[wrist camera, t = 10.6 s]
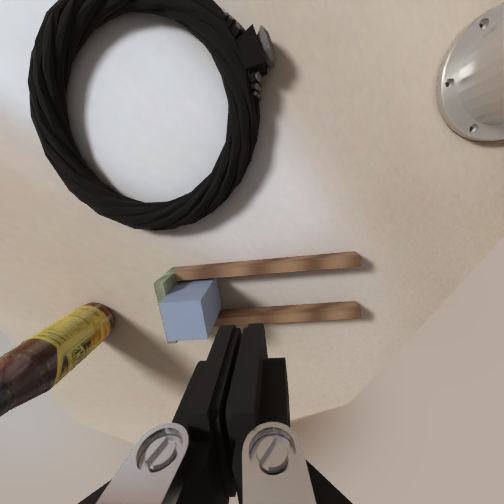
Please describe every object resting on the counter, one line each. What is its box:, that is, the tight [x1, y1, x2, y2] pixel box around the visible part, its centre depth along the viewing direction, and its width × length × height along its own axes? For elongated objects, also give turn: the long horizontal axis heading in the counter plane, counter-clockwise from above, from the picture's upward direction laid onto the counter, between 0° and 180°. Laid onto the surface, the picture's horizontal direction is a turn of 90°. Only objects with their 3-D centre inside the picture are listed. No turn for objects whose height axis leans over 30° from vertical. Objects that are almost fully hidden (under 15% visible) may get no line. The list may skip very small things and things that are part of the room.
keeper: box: [159, 278, 222, 341], centre depth 34 cm, size 5×5×8 cm
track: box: [154, 252, 361, 343], centre depth 33 cm, size 25×8×6 cm, turn 97°
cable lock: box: [28, 0, 276, 230], centre depth 30 cm, size 28×4×30 cm
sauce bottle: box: [0, 303, 114, 416], centre depth 31 cm, size 6×6×20 cm
